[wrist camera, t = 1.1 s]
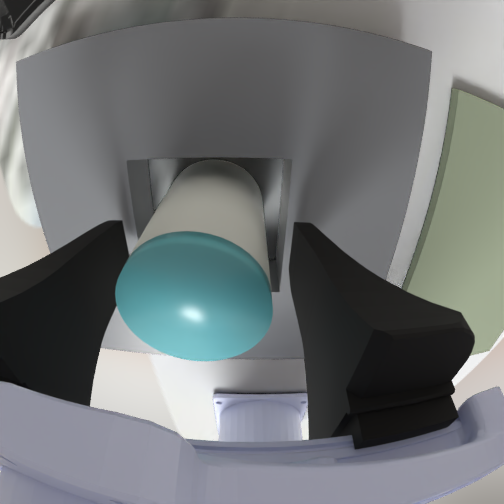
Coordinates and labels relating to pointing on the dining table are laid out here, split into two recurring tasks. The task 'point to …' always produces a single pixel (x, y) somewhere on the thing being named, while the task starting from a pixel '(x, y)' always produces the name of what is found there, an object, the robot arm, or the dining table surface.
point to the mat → (466, 222)
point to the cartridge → (201, 267)
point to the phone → (19, 15)
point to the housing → (229, 134)
